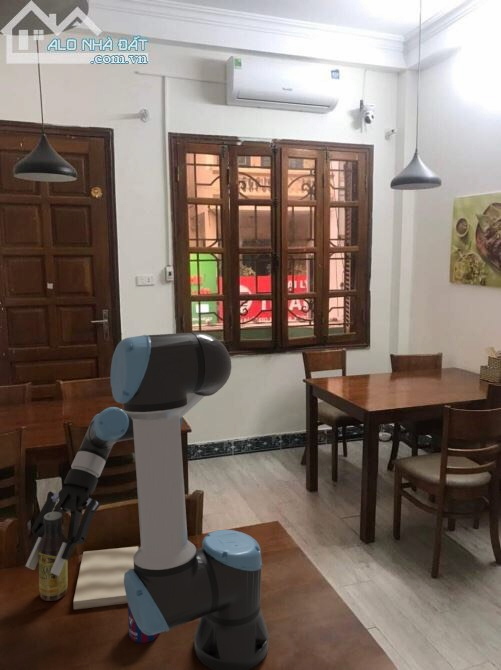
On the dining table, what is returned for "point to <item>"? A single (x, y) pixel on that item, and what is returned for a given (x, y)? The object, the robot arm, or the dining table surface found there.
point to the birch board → (103, 577)
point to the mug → (138, 630)
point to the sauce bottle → (52, 559)
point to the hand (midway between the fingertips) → (42, 570)
